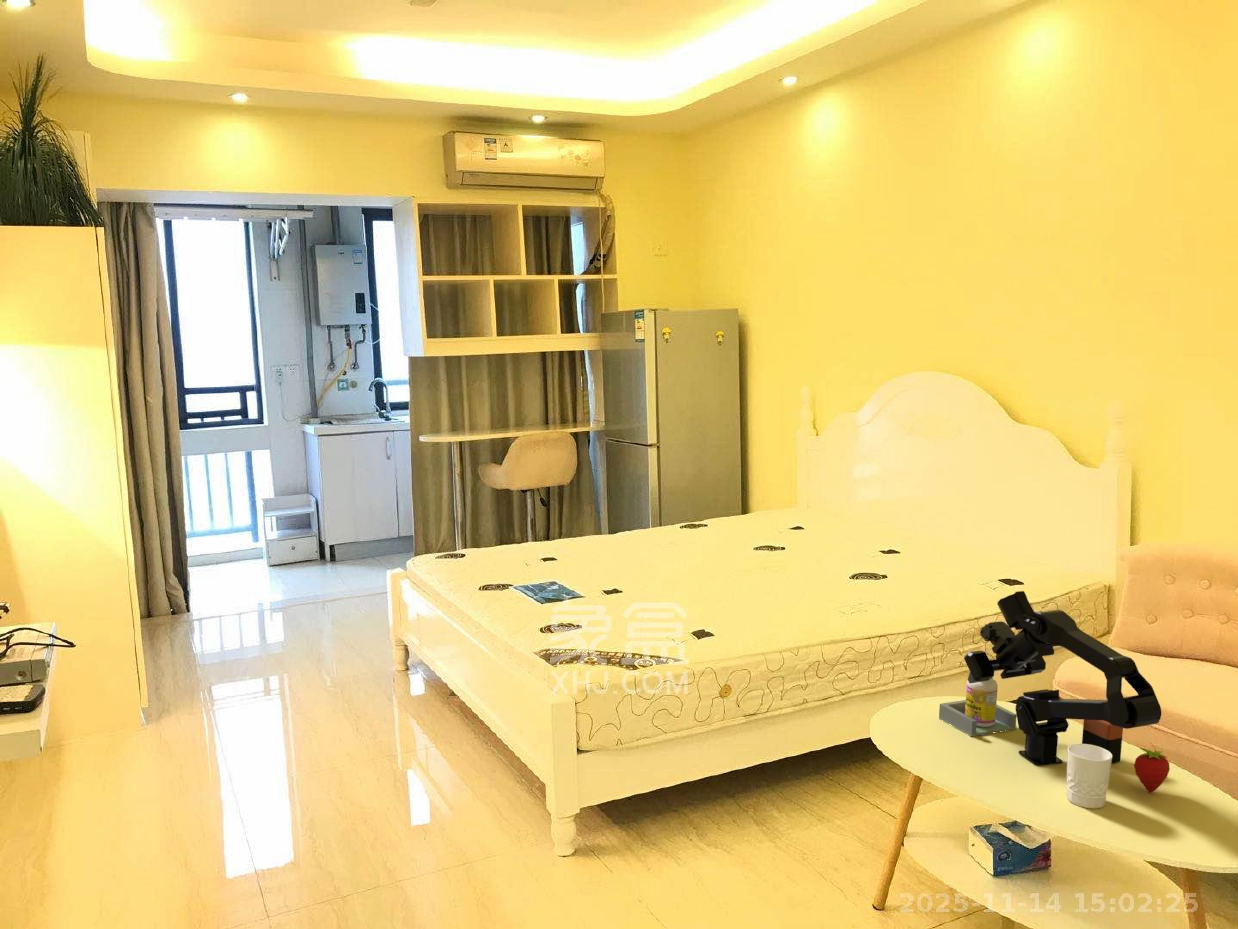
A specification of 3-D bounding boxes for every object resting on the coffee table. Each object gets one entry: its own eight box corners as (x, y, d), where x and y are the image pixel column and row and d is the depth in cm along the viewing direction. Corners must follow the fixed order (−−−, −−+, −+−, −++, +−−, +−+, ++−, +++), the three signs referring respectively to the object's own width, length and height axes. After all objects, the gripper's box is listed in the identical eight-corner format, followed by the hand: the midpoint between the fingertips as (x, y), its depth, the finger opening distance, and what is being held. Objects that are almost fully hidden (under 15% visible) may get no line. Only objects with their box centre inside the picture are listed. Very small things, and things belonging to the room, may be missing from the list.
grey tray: (1015, 729, 233) (1016, 714, 232) (971, 737, 228) (972, 721, 228) (981, 712, 243) (982, 697, 242) (938, 718, 239) (939, 703, 238)
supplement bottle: (958, 719, 237) (961, 665, 235) (980, 715, 239) (984, 662, 237) (978, 730, 231) (982, 675, 229) (1001, 725, 233) (1005, 671, 231)
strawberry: (1125, 791, 202) (1129, 743, 201) (1143, 781, 207) (1148, 734, 205) (1155, 803, 198) (1160, 754, 196) (1173, 792, 202) (1178, 744, 201)
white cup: (1117, 805, 197) (1121, 755, 195) (1090, 814, 193) (1095, 763, 191) (1080, 788, 204) (1084, 740, 202) (1054, 797, 200) (1058, 748, 198)
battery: (1094, 750, 222) (1098, 706, 221) (1121, 762, 216) (1125, 717, 214) (1079, 753, 220) (1083, 709, 219) (1106, 766, 214) (1110, 720, 213)
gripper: (1040, 610, 228) (1002, 643, 240) (972, 617, 222) (936, 651, 233) (1064, 655, 222) (1024, 687, 234) (995, 664, 215) (957, 696, 227)
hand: (985, 679), depth 232 cm, fingers open, 9 cm apart
